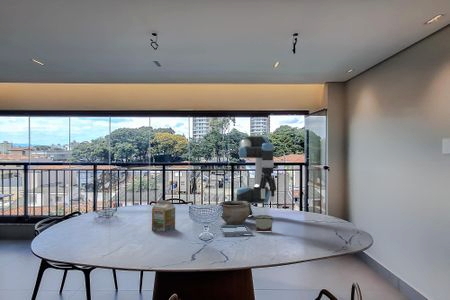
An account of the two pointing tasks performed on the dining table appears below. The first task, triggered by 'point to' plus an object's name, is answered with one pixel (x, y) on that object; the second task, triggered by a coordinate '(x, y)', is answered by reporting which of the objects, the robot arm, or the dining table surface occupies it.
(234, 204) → the ceramic bowl
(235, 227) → the tray
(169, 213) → the milk carton
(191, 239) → the dining table surface
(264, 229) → the food container
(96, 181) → the geometric lantern
